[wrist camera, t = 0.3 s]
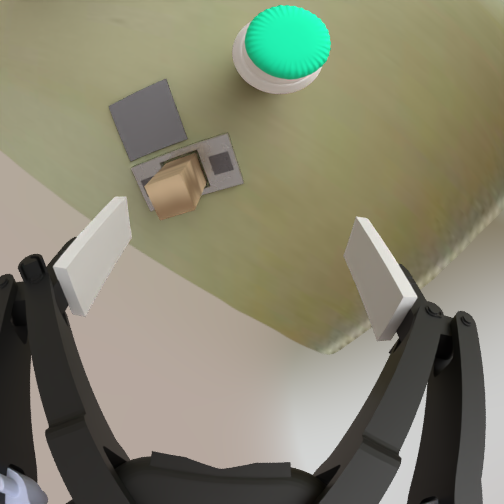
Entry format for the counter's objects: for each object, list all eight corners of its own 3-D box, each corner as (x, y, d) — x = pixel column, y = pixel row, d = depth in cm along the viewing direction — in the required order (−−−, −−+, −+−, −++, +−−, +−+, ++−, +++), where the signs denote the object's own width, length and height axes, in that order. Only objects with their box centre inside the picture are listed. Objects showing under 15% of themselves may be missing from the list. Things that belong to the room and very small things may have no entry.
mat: (109, 106, 33) (108, 106, 33) (166, 78, 32) (165, 78, 31) (131, 160, 39) (130, 161, 38) (187, 138, 37) (186, 139, 37)
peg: (166, 162, 39) (144, 186, 31) (196, 152, 39) (180, 173, 30) (178, 190, 42) (160, 220, 34) (206, 181, 41) (194, 210, 33)
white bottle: (256, 36, 28) (261, -33, 8) (301, 59, 30) (375, 28, 10) (232, 77, 32) (198, 65, 12) (277, 98, 34) (316, 122, 13)
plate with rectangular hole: (133, 166, 39) (130, 168, 38) (228, 132, 37) (227, 133, 36) (152, 208, 44) (150, 211, 43) (243, 180, 41) (243, 183, 40)
